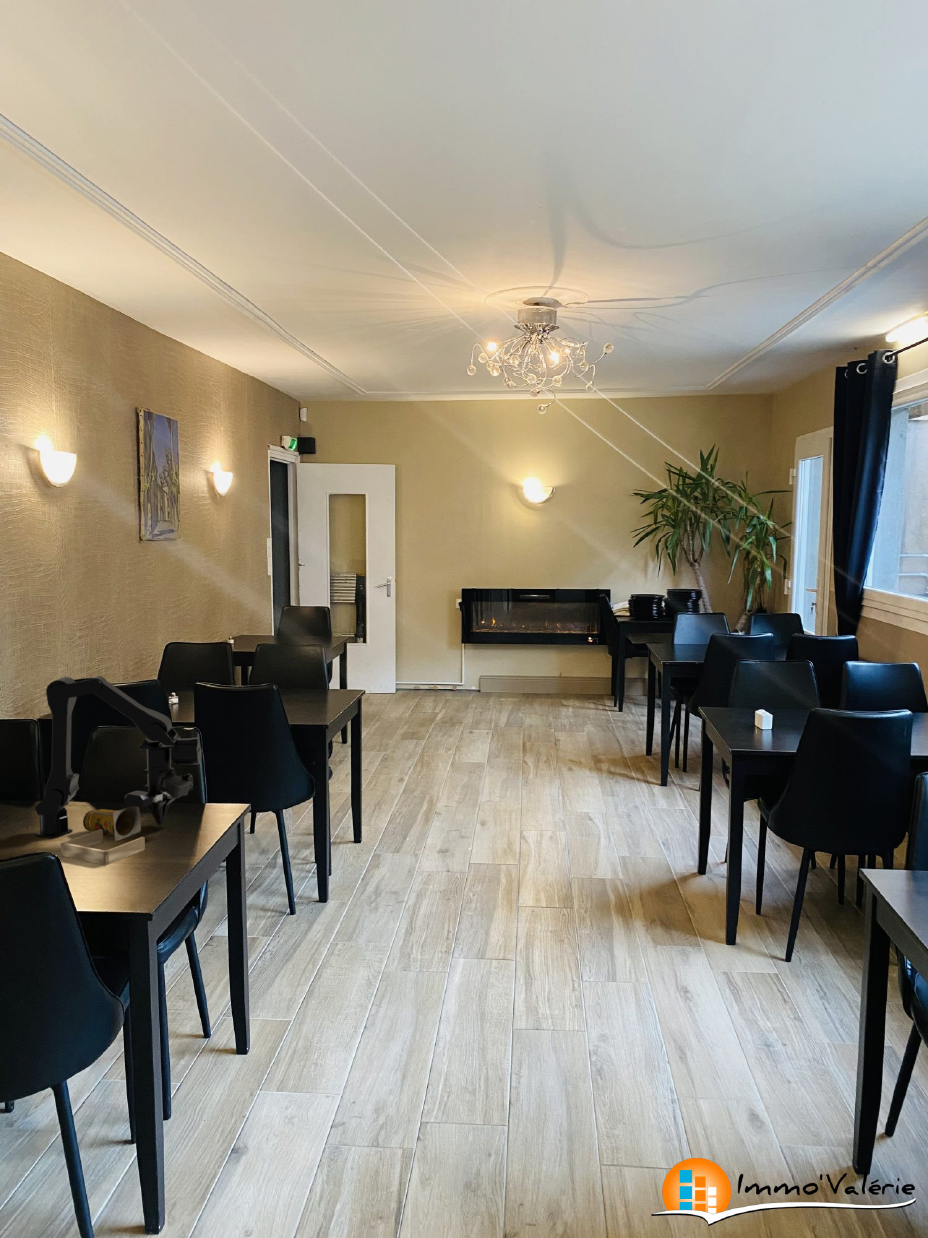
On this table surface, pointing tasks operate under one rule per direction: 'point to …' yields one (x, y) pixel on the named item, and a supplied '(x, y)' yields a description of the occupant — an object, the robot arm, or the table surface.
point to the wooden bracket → (81, 850)
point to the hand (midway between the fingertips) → (160, 824)
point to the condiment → (114, 821)
